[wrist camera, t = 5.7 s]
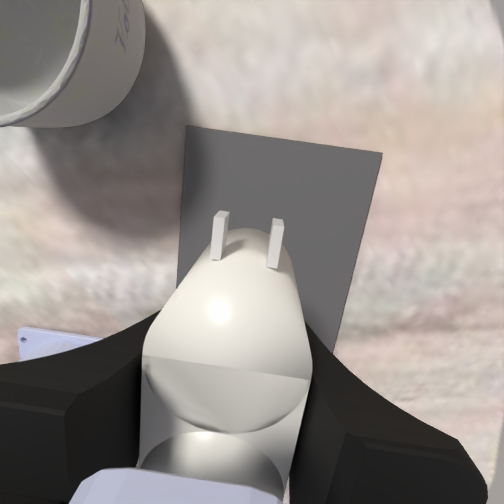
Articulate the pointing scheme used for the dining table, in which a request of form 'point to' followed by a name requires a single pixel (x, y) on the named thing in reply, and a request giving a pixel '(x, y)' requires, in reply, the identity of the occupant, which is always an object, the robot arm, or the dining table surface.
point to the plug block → (228, 365)
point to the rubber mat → (282, 208)
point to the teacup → (67, 59)
